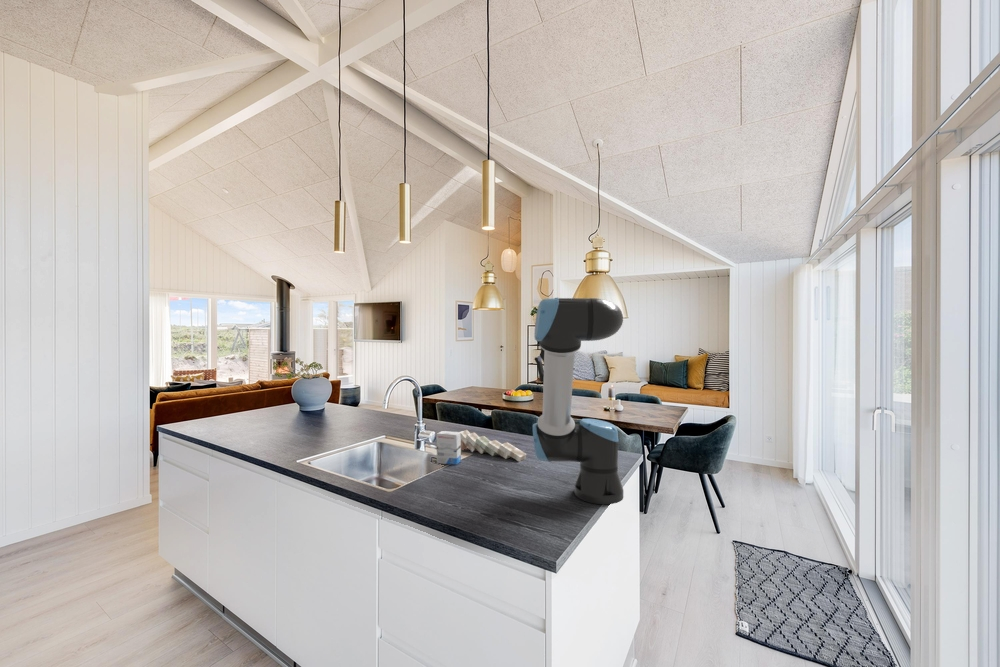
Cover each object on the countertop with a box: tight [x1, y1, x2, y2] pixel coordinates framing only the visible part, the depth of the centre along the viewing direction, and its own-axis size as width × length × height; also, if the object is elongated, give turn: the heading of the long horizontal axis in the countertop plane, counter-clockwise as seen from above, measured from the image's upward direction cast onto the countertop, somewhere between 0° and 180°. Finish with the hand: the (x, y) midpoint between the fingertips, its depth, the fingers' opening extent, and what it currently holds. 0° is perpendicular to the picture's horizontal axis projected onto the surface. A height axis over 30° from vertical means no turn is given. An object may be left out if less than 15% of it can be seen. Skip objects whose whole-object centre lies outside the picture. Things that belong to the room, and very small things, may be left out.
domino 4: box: [487, 439, 512, 460], centre depth 171 cm, size 5×2×10 cm
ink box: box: [435, 430, 462, 466], centre depth 162 cm, size 9×5×12 cm, turn 73°
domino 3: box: [475, 435, 499, 457], centre depth 174 cm, size 5×2×10 cm
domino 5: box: [499, 441, 527, 462], centre depth 168 cm, size 5×2×10 cm
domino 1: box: [459, 429, 478, 453], centre depth 179 cm, size 5×2×10 cm
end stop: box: [461, 440, 469, 451], centre depth 181 cm, size 6×3×4 cm, turn 148°
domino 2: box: [466, 432, 488, 455], centre depth 177 cm, size 5×2×10 cm
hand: (549, 400), depth 163 cm, fingers closed
